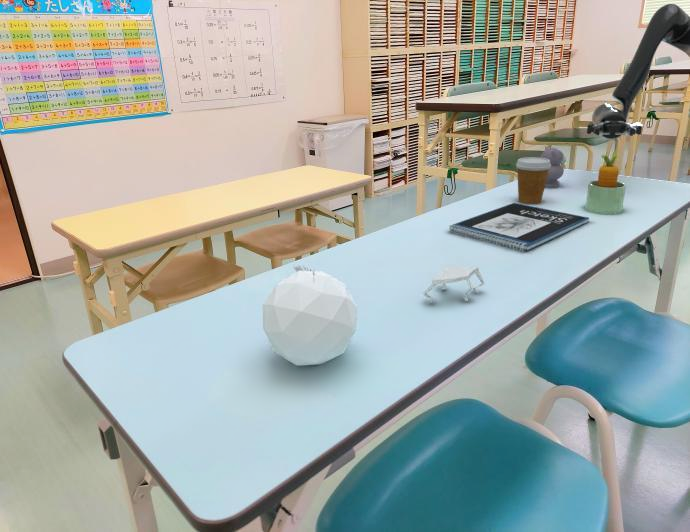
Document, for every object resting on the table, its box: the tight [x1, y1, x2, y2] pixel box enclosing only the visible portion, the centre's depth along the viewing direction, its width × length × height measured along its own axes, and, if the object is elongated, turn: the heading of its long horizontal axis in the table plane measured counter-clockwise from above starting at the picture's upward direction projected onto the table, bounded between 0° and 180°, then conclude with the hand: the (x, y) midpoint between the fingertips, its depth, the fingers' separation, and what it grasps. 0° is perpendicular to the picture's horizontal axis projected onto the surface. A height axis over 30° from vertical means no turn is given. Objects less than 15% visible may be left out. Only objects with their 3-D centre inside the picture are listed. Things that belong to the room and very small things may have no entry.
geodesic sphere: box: [262, 265, 358, 367], centre depth 77 cm, size 15×14×14 cm
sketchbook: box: [448, 202, 590, 252], centre depth 130 cm, size 22×30×2 cm
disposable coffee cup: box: [515, 156, 551, 205], centre depth 149 cm, size 10×10×12 cm
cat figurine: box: [540, 145, 565, 189], centre depth 165 cm, size 8×8×12 cm
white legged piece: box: [422, 265, 486, 304], centre depth 95 cm, size 12×8×5 cm
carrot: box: [597, 150, 619, 188], centre depth 139 cm, size 5×5×15 cm
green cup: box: [585, 179, 627, 215], centre depth 140 cm, size 9×9×7 cm
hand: (615, 131), depth 146 cm, fingers open, 8 cm apart
